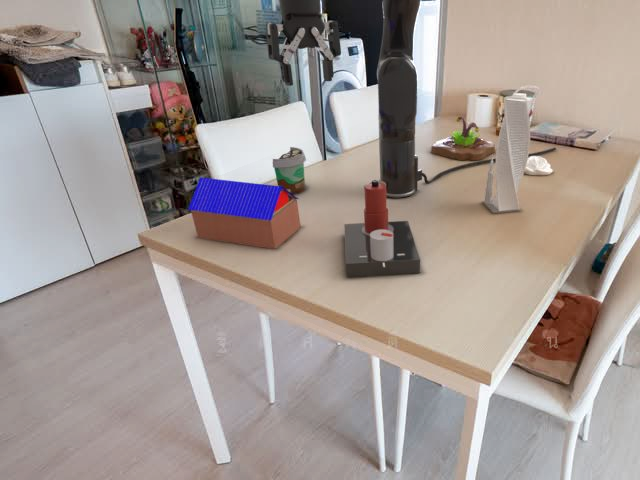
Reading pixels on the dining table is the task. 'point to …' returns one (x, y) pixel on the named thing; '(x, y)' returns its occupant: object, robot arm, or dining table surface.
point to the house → (244, 212)
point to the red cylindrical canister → (375, 207)
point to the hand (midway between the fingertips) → (308, 83)
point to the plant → (464, 145)
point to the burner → (369, 233)
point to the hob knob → (382, 245)
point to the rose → (537, 166)
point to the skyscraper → (510, 153)
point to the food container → (291, 170)
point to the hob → (364, 265)
